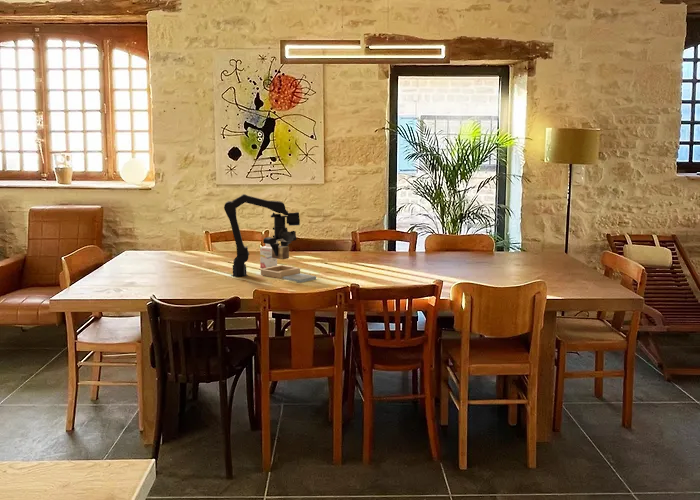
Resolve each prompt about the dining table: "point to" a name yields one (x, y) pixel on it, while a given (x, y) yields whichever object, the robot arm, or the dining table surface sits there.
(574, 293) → the dining table surface
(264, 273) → the beige shallow square tray
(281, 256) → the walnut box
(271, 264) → the ink cartridge box
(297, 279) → the trivet
